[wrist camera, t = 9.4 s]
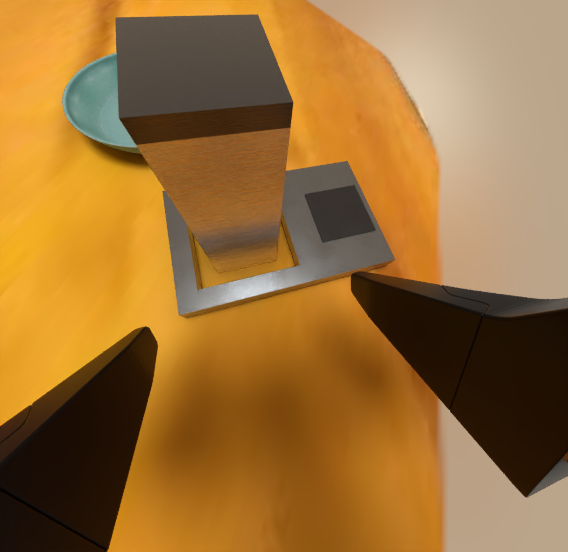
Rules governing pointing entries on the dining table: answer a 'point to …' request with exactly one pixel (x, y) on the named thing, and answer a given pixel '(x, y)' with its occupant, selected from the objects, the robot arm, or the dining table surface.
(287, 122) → the grey tall block
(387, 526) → the dining table surface
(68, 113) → the saucer
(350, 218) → the grey slotted plate
